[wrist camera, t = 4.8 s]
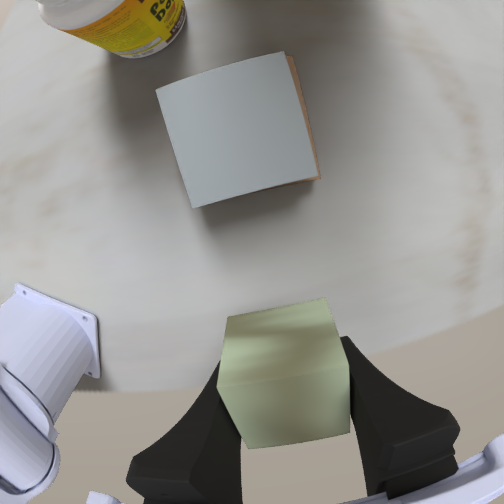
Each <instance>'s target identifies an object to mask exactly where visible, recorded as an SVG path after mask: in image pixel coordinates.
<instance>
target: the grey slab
mask: <svg viewBox="0 0 504 504" xmlns="http://www.w3.org/2000/svg"><path fill="white" fill-rule="evenodd" d="M156 94H157V97H158V101H159V104H160V107H161V111H162V114H163V118H164V121H165V124H166V127H167V131H168V134H169V137H170V141H171V144H172V147H173V150H174V153H175V156H176V160H177V163H178V166H179V169H180V172H181V175H182V178H183V181H184V184H185V187H186V190H187V193H188V196H189V199H190V202H191V205H192V208H196V207H200V206H203V205H207V204H210V203H214V202H217V201H221V200H224V199H228V198H232V197H235V196H239V195H243V194H246V193H250V192H254V191H258V190H262V189H265V188H269V187H273V186H277V185H281V184H285V183H289V182H293V181H298V180H302V179H306V178H310V177H314V176H318V172H317V168H316V164H315V159H314V155H313V151H312V147H311V143H310V139H309V135H308V131H307V128H306V124H305V120H304V116H303V113H302V109H301V106H300V102H299V99H298V95H297V92H296V88H295V85H294V82H293V78H292V75H291V72H290V69H289V66H288V62H287V59H286V56H285V53H284V51H282V52H277V53H272V54H267V55H263V56H259V57H255V58H250V59H246V60H243V61H239V62H235V63H232V64H228V65H225V66H221V67H218V68H215V69H211V70H208V71H205V72H202V73H199V74H196V75H193V76H190V77H187V78H184V79H182V80H179V81H176V82H174V83H171V84H168V85H166V86H163V87H161V88H158V89H156Z"/></svg>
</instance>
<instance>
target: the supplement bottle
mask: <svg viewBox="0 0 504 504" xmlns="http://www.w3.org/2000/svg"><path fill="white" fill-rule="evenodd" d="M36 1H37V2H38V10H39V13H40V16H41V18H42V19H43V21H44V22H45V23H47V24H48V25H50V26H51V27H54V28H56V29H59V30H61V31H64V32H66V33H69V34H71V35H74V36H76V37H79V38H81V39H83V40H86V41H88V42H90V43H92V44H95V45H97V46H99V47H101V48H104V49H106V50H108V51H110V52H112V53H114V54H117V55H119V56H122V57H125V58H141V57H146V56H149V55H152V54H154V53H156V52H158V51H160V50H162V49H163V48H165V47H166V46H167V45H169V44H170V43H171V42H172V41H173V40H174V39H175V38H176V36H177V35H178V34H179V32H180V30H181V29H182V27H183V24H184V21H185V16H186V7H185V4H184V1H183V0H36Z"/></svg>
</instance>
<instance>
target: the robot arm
mask: <svg viewBox="0 0 504 504" xmlns="http://www.w3.org/2000/svg"><path fill="white" fill-rule="evenodd" d="M14 289H15V294H14V295H12V296H11V297H10V298H9V299H8V300H7V301H6V302H4V303H3V304H2V305H1V306H0V504H27V503H28V502H29V501H30V500H31V499H32V498H33V497H35V496H36V495H38V494H40V493H41V492H43V491H45V490H46V489H47V488H48V487H49V486H50V485H51V484H52V483H53V482H54V480H55V478H56V476H57V474H58V470H59V465H60V452H59V449H58V446H57V445H56V443H55V440H56V438H57V436H58V434H59V433H58V431H57V430H56V429H55V428H54V424H55V422H56V420H57V418H58V417H59V415H60V413H61V411H62V409H63V407H64V406H65V404H66V402H67V401H68V399H69V397H70V395H71V394H72V392H73V390H74V388H75V387H76V385H77V383H78V382H79V380H80V378H81V377H82V375H83V374H86V375H88V376H91V377H93V378H96V379H98V378H99V377H100V364H99V351H98V334H97V318H96V317H95V316H94V315H93V314H91V313H88V312H85V311H83V310H80V309H78V308H75V307H73V306H70V305H68V304H65V303H63V302H60V301H58V300H55V299H53V298H51V297H48V296H46V295H44V294H41V293H39V292H37V291H35V290H32V289H30V288H28V287H26V286H24V285H21V284H19V283H17V284H15V286H14ZM340 340H341V343H342V346H343V349H344V352H345V355H346V358H347V361H348V364H349V381H350V415H351V418H352V420H353V424H354V427H355V431H356V435H357V439H358V444H359V449H360V454H361V459H362V464H363V470H364V476H365V482H366V489H367V496H368V497H365V498H361V499H358V500H353V501H349V502H344V503H339V504H487V503H489V502H490V501H492V500H493V499H495V498H497V497H498V496H500V495H501V494H503V493H504V433H502V434H501V435H499V436H497V437H496V438H494V439H493V440H491V441H490V442H489V443H488V444H487V445H486V447H485V448H484V450H483V451H482V452H480V453H478V454H476V455H474V456H472V457H470V458H468V459H466V460H464V461H462V462H460V463H458V464H457V462H456V460H455V457H454V454H455V450H454V448H453V444H454V442H455V440H456V439H457V437H458V435H459V432H460V427H459V425H458V423H457V421H456V419H455V418H454V416H453V415H452V414H451V412H450V411H449V410H447V409H444V408H441V407H439V406H436V405H433V404H431V403H428V402H426V401H424V400H422V399H420V398H418V397H416V396H414V395H413V394H411V393H409V392H407V391H406V390H404V389H403V388H401V387H400V386H398V385H397V384H395V383H394V382H393V381H391V380H390V379H389V378H387V377H386V376H385V375H384V374H383V373H381V372H380V371H379V370H378V369H377V368H376V367H375V366H374V365H373V364H372V363H371V362H370V361H369V360H368V359H367V358H366V357H365V356H364V355H363V354H362V353H361V352H360V351H359V349H358V348H357V347H356V346H355V345H354V343H353V342H352V341H351V339H350V338H349V337H348V336H344V337H340ZM220 362H221V360H220V361H219V363H218V365H217V367H216V368H215V370H214V372H213V374H212V376H211V377H210V379H209V381H208V382H207V384H206V386H205V387H204V389H203V391H202V392H201V394H200V395H199V397H198V398H197V399H196V401H195V402H194V404H193V405H192V406H191V408H190V409H189V410H188V411H187V413H186V414H185V415H184V416H183V417H182V418H181V420H180V421H179V422H178V423H177V424H176V425H175V426H174V427H173V428H172V429H171V430H170V431H169V432H167V433H166V434H165V435H164V436H163V437H162V438H160V439H159V440H158V441H157V442H155V443H154V444H153V445H151V446H150V447H148V448H147V449H145V450H143V451H142V452H140V453H139V454H137V455H136V456H134V457H133V459H132V461H131V464H130V467H129V471H128V474H127V477H126V482H127V484H128V485H129V486H130V487H131V488H132V489H134V490H135V491H136V492H137V493H139V494H140V495H142V496H143V497H144V498H145V499H144V503H143V504H243V502H242V487H241V463H240V462H241V458H240V457H241V456H240V449H241V435H240V433H239V431H238V429H237V427H236V425H235V423H234V422H233V420H232V418H231V416H230V414H229V412H228V410H227V408H226V406H225V404H224V402H223V400H222V398H221V396H220V394H219V392H218V390H217V381H218V375H219V368H220ZM86 504H126V503H121V502H120V501H119V500H118V499H116V498H114V497H112V496H110V495H107V494H103V493H99V492H95V491H90V493H89V496H88V499H87V502H86Z"/></svg>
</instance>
